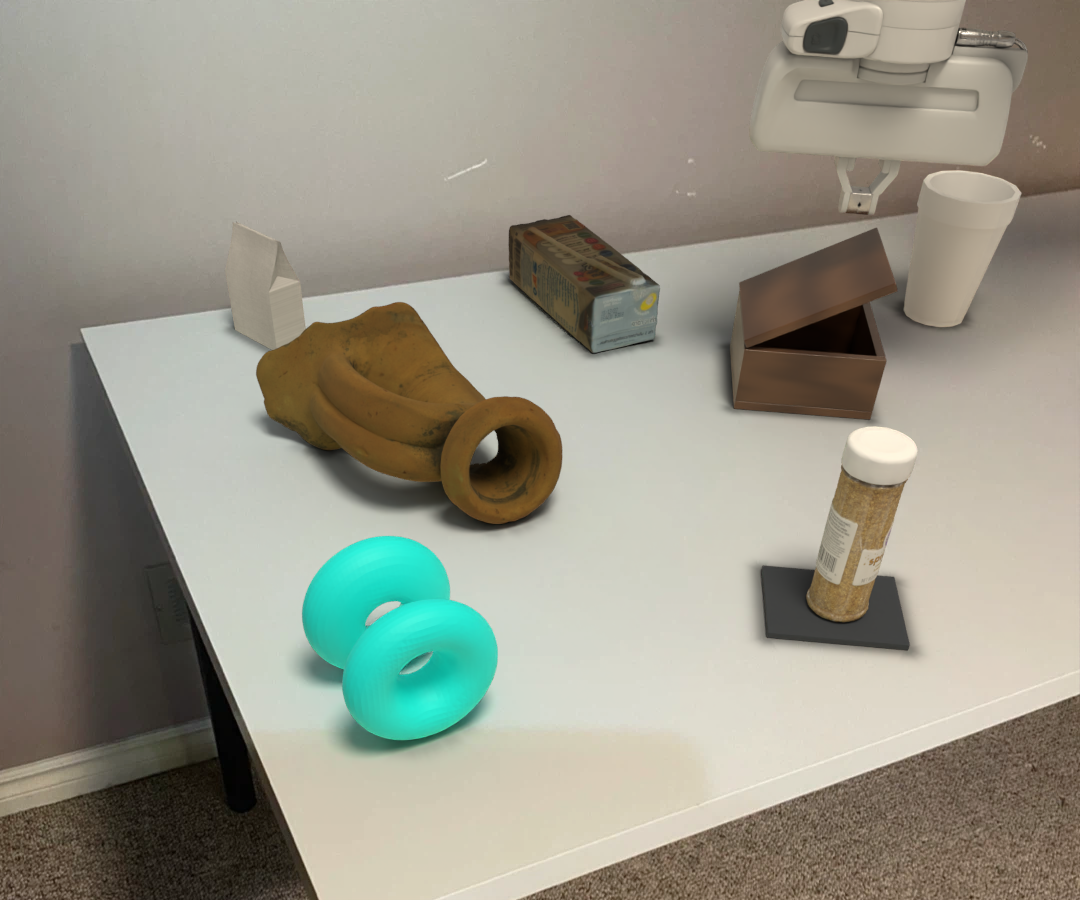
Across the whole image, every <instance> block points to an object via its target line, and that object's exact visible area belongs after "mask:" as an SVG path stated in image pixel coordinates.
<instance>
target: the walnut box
mask: <svg viewBox="0 0 1080 900" xmlns="http://www.w3.org/2000/svg"><path fill="white" fill-rule="evenodd" d="M736 301H737V302H736V307H735V313H734V320H733V321H734V322H733V326H732V332H731V338H730V342H729V343H730V344H729V354H730V356H729V357H730V370H731V371H730V373H731V385H732V387H731V388H732V402H733V409H734V410H746V411H747V410H748V411H758V412H769V413H771V412H772V413H782V414H783V413H784V414H796V415H809V416H821V417H833V418H834V417H835V418H844V419H845V418H846V419H859V420H868V421H869V420H871V418H872V414H873V411H874V408H875V405H876V401H877V396H878V394H879V390H880V386H881V382H882V379H883V377H884V372H885V369H886V365H887V361H888V360H887V358H886V353H885V350H884V347H883V343H882V339H881V336H880V332H879V329H878V325H877V323H876V322H877V321H876V319H875V315H874V311H873V308H872V304H871V302H868V303H865V304H863V305H860V306H857V307H855V308H852V309H850V310H847V311H844V312H842V313H839V314H836V315H834V316H831V317H828V318H826V319H823V320H820V321H818V322H815V323H812V324H810V325H807V326H804V327H802V328H799V329H796V330H794V331H791V332H788V333H786V334H783V335H780V336H778V337H775V338H773V339H770V340H767V341H765V342H762V343H759V344H757V345H754V346H751V347H749V348H746V345H745V342H744V334H743V323H742V311H741V299H740V290H739V291H738V296H737V300H736Z"/></svg>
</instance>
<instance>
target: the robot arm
mask: <svg viewBox="0 0 1080 900" xmlns="http://www.w3.org/2000/svg"><path fill="white" fill-rule="evenodd" d="M966 1H967V0H799V1H797V2H794V3H791V4H789V5H788V6H787V7H786V8H785V10H784V11H783V14H782V19H781V25H780V35H781V39H782V41H780V42H778V43H777V44H776V45H775V46H774V47H773V48H772V49H771V51H770V52H769V54H768V55H767V58H766V60H765V62H764V64H763V66H762V67H763V68H762V70H761V73H760V77H759V80H758V83H757V87H756V91H755V95H754V99H753V103H752V107H751V111H750V118H749V124H748V137H749V140H750V142H751V143H752V145H753V147H754V148H755V150H756V151H757V152H760V153H774V154H789V155H805V156H820V157H834V160H833V165H834V167H835V170H836V171H835V172H836V174H837V177H838V181H839V183H840V187H841V190H840V195H839V200H838V205H837V209H838V213H839V214H851V215H853V214H854V215H863V216H865V215H866V216H874V215H875V213H876V209H877V205H878V201H879V197H880V196H881V195H882V194H883V193H884V192H885V190H886V189H887V188H888V187H889V186H890V185H891V183H892V182H893V181H894V180H895V179H896V178H897V176H898V175H899V172H900V169H901V164H902V162H910V163H911V162H912V163H927V164H943V165H959V166H974V167H987V166H988V165H989V164H991V162H993V161H994V160H995V159H996V158H997V157H998V156H999V154H1000V153H1001V150H1002V147H1003V143H1004V139H1005V135H1006V130H1007V126H1008V121H1009V116H1010V111H1011V105H1012V104H1011V103H1012V97H1013V93H1014V92H1016V90H1017V89H1019V86H1020V84H1021V83H1022V81H1023V77H1024V75H1025V70H1026V67H1027V65H1028V61H1029V60H1028V59H1029V49H1028V47H1027V45H1026V44H1025V42H1024V41H1023V40H1022V39H1020V38H1018V37H1017V35H1016V32H1013V31H1010V30H1004V29H1003V30H997V31H993V30H985V29H980V28H971V27H970V28H969V27H960V25H961V20H962V17H963V13H964V10H965V5H966ZM1014 45H1016V46H1017V47H1013V46H1014ZM857 159H865V160H867V159H868V160H878V163H877V164H878V166H879V169H880V171H879V173H878V174H877V175H876V177H874V179H873V181H872V182H871V183H870V184H869V186H857V185H856V186H855V185H851V183H850V179H849V175H848V174H847V172H853V171H854V169H855V167H856V162H857Z"/></svg>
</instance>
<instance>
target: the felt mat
mask: <svg viewBox="0 0 1080 900" xmlns="http://www.w3.org/2000/svg"><path fill="white" fill-rule="evenodd" d="M760 570H761V571H760V573H761V585H762V596H763V597H762V598H763V607H764V608H763V609H764V620H765V632H766V638H768V639H778V640H790V641H800V642H801V641H802V642H813V643H823V644H834V645H844V646H855V647H856V646H858V647H866V648H879V649H889V650H890V649H891V650H901V651H908V650H909V649H910V646H911V644H910V639H909V636H908V631H907V626H906V622H905V617H904V614H903V609H902V605H901V600H900V596H899V591H898V587H897V584H896V578H895V576H890V575H879V574H878V575H877V577H876V578H875V582H874V585H873V588H872V591H871V594H870V598H869V605H868V610H867V611H866V613H865V614H864V615H863V616H862V617H861V618H860V619H857V620H855V621H849V622H835V621H832V620H828V619H825V618H823V617H821V616H819V615H818V614H816V613H815V612H814V611H813V610H812V609H811V608H810V607H809V605H808V603H807V599H806V595H807V592H808V589H809V588H810V587H811V584H812V581H813V577H814V572H815V569H808V568H797V567H785V566H774V565H764V564H763V565H762V566H761V569H760Z"/></svg>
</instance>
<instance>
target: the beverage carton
mask: <svg viewBox="0 0 1080 900" xmlns="http://www.w3.org/2000/svg"><path fill="white" fill-rule="evenodd" d="M508 272H509V273H508V275H509V280H510V281H512V282H513V284H515V286H517V287H518V288H519V289H520V290H521V291H522V292H524V293H525V294H526V295H527V296H528V297H529V298H530V299H531V300H532V301H533V302H534V303H536V304H537V305H538V307H540V308H542V310H543V311H545V312H546V313H547V314H548V315H549V316H550V317H551V318H552V319H553V320H555V322H557V323H558V324H559V325H560V326H561V327H562V328H563V329H564V330H565V331H566V332H568V333H569V334H570V335H571V336H573V338H574V339H576V340H577V341H578V342H580V343H581V344H582V345H583V347H585V348H586V349H587V350H588V351H590V352H591V353H592V354H595V353H601V352H604V351H609V350H614V349H618V348H622V347H626V346H630V345H633V344H634V345H635V344H638V343H644V342H648V341H651V340H655V337H656V329H657V328H656V327H657V324H658V313H659V310H658V309H659V299H660V291H661V286H660V284H659V283H657V282H656V281H655V280H654V279H653V278H651V277H650V276H649V275H648V274H646V273H645V272H644V271H643V270H642V269H640V267H638V266H637V265H635V264H634V263H633V262H632V261H631V260H630V259H628V258H627V257H625V256H624V255H623V254H622V253H621V252H619V251H618V250H617V249H616V248H614V247H613V246H611V244H609V243H607V242H606V241H605V240H604V239H602V238H601V237H600V236H599V235H597V234H596V233H595V232H593V231H592V230H591V229H590V228H589V227H588V226H586V225H584V224H583V223H582V222H581V221H579V220H578V219H576V218H574V217H573V215H571V214H567V215H562V216H560V217H553V218H550V219H545V218H544V219H539V220H535V221H531V222H527V223H519V224H518V223H517V224H512V225H510V226H509V227H508Z"/></svg>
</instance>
